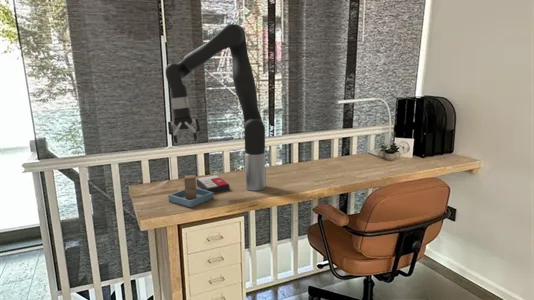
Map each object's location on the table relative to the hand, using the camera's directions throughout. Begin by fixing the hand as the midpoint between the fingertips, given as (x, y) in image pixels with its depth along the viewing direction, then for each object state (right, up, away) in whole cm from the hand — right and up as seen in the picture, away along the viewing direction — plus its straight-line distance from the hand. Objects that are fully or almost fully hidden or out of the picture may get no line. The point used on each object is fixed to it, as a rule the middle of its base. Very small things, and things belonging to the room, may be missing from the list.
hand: (186, 141), depth 186 cm
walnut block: (+5, -25, -12) cm, 28 cm away
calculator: (+12, -22, +4) cm, 26 cm away
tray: (+5, -26, -12) cm, 29 cm away
